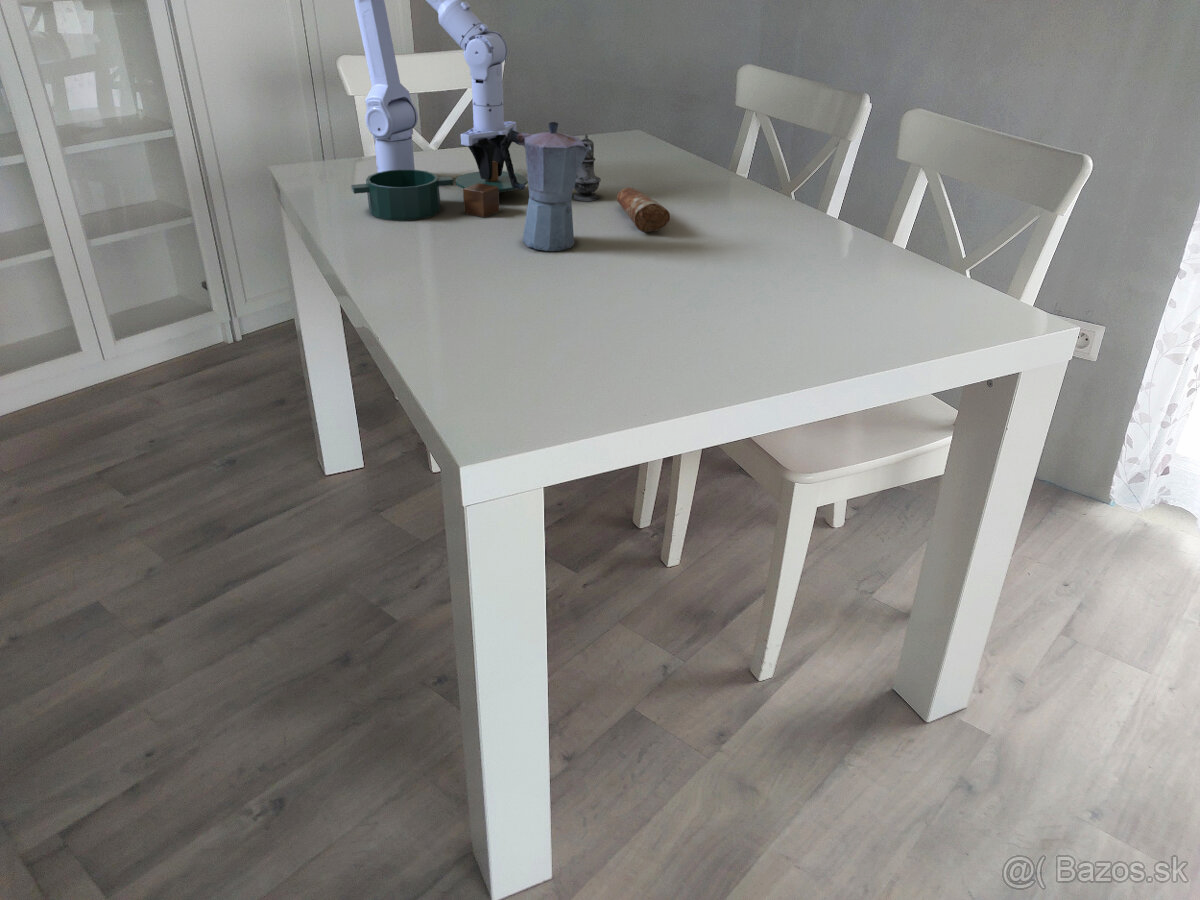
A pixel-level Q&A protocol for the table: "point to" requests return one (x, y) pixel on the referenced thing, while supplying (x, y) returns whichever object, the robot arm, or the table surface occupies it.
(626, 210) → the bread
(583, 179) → the salt shaker
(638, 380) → the table surface
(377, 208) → the pot
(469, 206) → the block
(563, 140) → the moka pot
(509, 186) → the lid
